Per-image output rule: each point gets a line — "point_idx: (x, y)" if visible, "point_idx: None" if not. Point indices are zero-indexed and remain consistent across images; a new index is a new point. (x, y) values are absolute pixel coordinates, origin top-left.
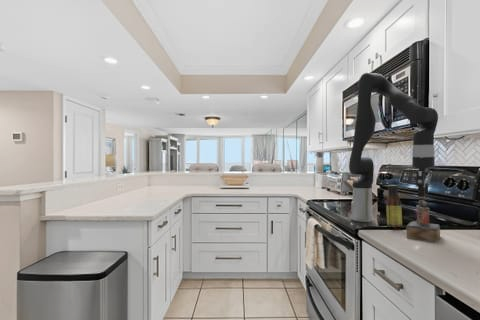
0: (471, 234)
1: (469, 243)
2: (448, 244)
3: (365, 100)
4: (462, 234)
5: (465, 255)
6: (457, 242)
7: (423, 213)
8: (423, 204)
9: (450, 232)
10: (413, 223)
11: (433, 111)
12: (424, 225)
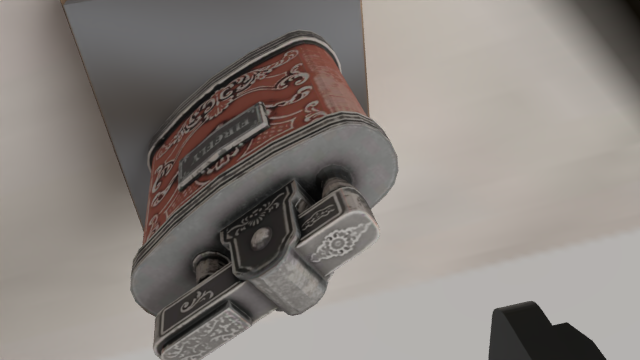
0: (563, 232)
1: None
2: None
3: None
4: (530, 204)
5: (6, 350)
6: None
7: (144, 231)
8: (173, 305)
9: (548, 142)
10: (233, 19)
11: None
12: (149, 162)
